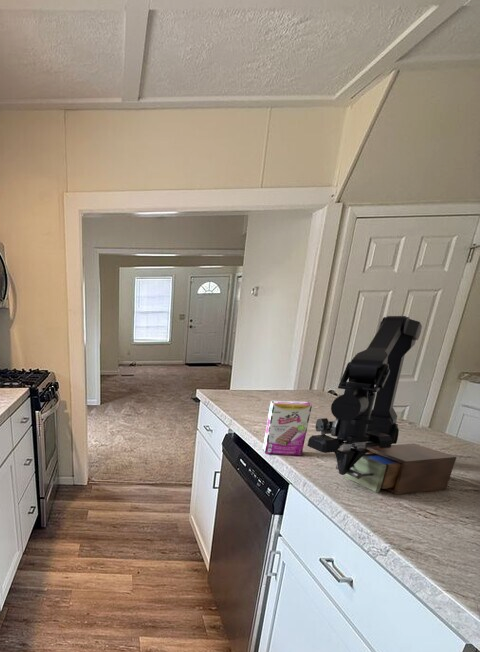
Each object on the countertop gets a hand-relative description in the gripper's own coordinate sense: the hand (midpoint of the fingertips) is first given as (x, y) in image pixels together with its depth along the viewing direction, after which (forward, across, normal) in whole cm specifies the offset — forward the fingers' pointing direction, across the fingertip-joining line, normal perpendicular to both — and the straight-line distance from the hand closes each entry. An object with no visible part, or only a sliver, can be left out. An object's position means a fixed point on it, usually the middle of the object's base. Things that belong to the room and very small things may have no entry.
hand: (341, 474), depth 100 cm
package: (+2, -10, 0) cm, 10 cm away
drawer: (+3, -10, 0) cm, 10 cm away
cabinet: (+4, -18, 0) cm, 19 cm away
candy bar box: (+4, -3, -29) cm, 29 cm away
